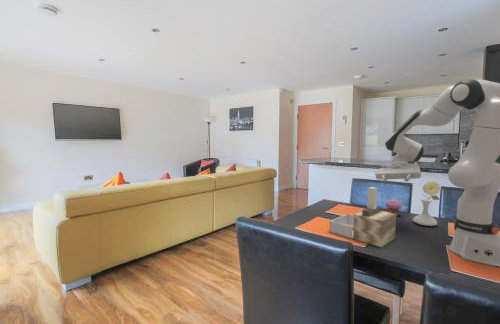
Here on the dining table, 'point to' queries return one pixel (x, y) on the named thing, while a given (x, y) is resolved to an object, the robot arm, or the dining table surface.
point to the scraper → (371, 203)
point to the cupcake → (393, 206)
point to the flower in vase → (424, 217)
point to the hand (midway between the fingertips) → (395, 180)
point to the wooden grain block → (375, 228)
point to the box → (342, 226)
